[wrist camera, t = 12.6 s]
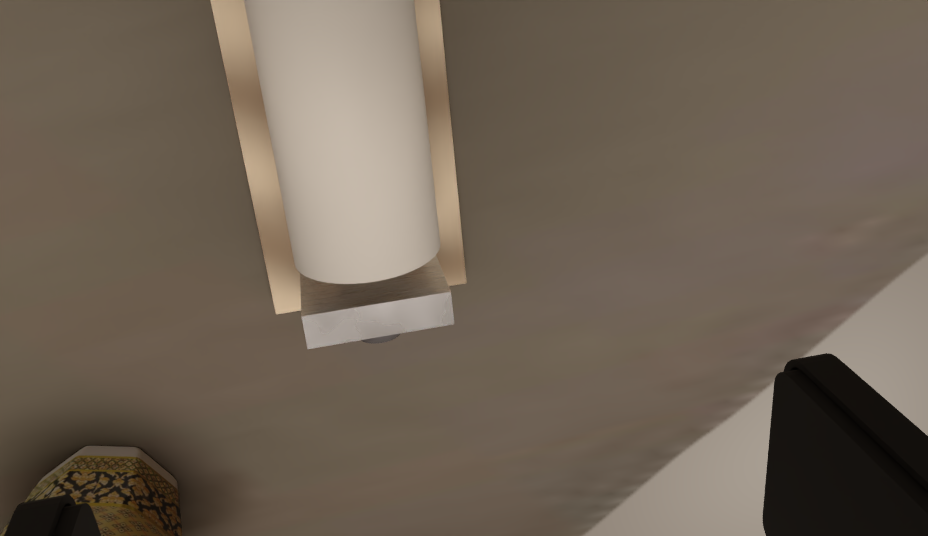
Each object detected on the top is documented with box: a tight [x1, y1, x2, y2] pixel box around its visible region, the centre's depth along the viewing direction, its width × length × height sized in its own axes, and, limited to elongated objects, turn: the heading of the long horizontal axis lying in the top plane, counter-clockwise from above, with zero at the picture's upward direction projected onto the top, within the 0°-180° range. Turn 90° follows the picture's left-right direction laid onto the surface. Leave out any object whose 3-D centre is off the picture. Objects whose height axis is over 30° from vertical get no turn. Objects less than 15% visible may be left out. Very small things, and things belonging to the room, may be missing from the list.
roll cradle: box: [211, 0, 466, 349], centre depth 33 cm, size 20×9×7 cm, turn 5°
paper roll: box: [244, 0, 440, 284], centre depth 32 cm, size 12×6×6 cm, turn 5°
